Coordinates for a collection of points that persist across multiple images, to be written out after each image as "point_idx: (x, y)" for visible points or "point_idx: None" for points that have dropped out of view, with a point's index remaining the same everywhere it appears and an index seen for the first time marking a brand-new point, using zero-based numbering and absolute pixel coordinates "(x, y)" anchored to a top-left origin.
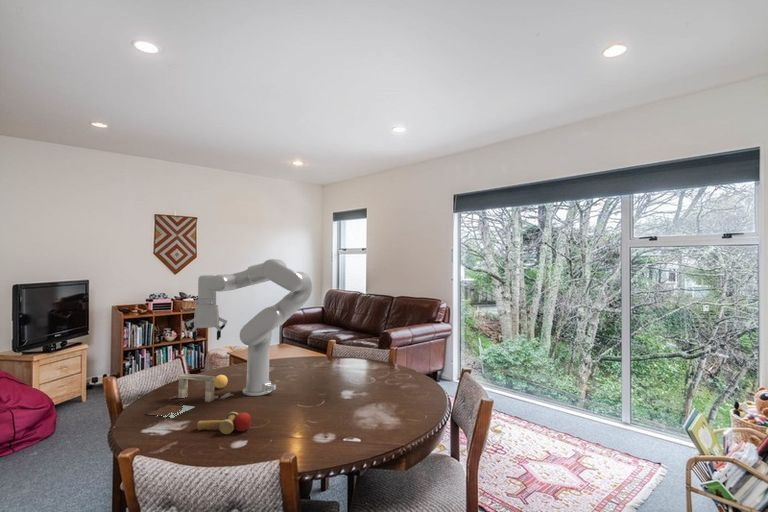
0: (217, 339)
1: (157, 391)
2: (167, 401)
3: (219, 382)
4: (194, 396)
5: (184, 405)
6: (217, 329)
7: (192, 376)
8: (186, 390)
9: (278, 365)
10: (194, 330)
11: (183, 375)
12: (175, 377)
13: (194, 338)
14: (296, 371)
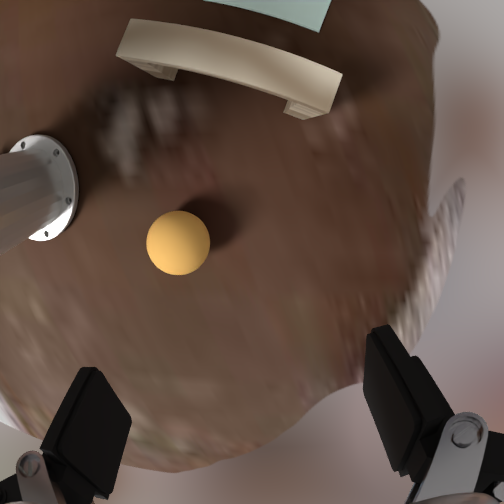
0: (88, 367)
1: (421, 202)
2: (341, 65)
3: (170, 213)
4: (254, 118)
5: (248, 8)
6: (47, 476)
7: (247, 43)
8: (289, 102)
9: None
10: (445, 448)
11: (314, 69)
12: None
13: (390, 347)
14: (44, 386)
